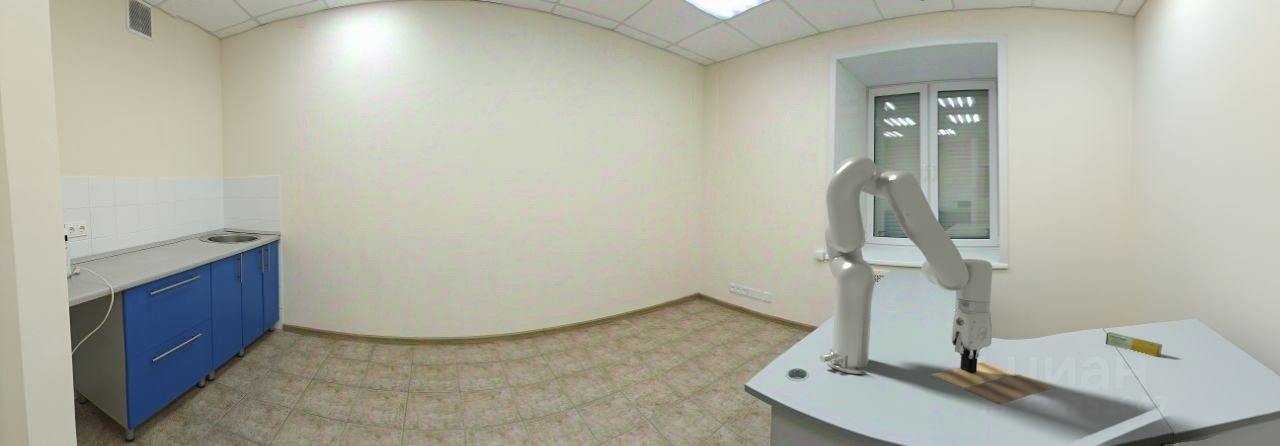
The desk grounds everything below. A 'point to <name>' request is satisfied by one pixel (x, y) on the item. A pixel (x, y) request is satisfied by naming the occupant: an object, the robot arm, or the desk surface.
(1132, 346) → the medication box
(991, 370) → the oak plank
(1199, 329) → the desk surface
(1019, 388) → the walnut board
